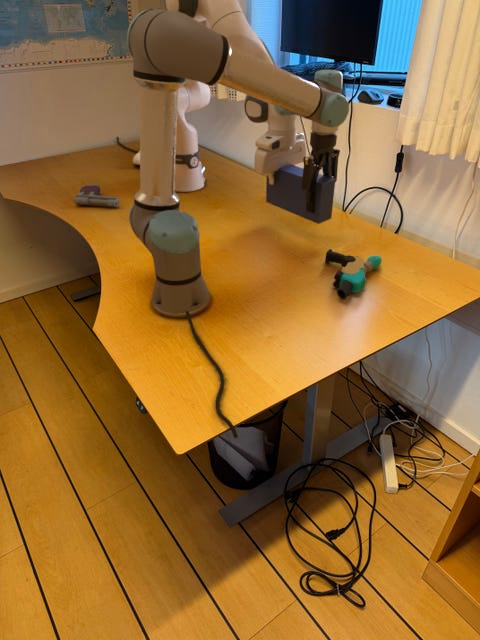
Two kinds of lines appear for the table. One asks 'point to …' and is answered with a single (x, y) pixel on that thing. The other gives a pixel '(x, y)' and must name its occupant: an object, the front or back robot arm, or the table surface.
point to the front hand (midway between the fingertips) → (317, 208)
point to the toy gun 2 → (351, 272)
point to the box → (300, 194)
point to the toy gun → (94, 197)
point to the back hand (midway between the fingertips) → (280, 181)
